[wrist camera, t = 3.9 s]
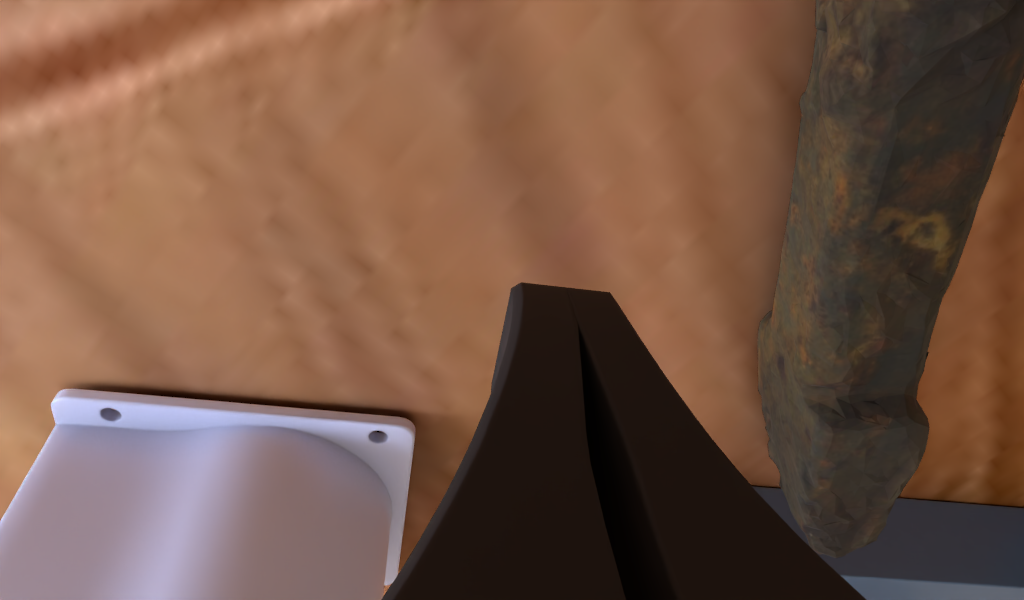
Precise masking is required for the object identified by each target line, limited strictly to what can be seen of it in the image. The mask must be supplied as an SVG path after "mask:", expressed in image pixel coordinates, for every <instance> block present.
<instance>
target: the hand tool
mask: <svg viewBox="0 0 1024 600" xmlns="http://www.w3.org/2000/svg"><path fill="white" fill-rule="evenodd" d="M815 26H816V29H817V33H816V40H815V46H814V54H813V64H812V68H811V72H810V76H809V81H808V85H807V89H806V90H805V92H804V93H803V95H802V96H801V99H800V102H799V105H800V109H801V113H802V117H801V122H800V130H799V139H798V147H797V156H796V164H795V169H794V174H793V182H792V191H791V197H790V204H789V211H788V217H787V224H786V230H785V235H784V241H783V246H782V254H781V261H780V270H779V275H778V280H777V285H776V290H775V296H774V304H773V310H772V311H770V312H769V313H768V314H767V315H766V316H765V317H764V318H763V319H762V320H761V321H760V325H759V329H758V391H759V393H760V395H761V398H762V412H763V415H764V419H765V422H766V427H765V428H766V430H767V433H768V436H769V442H768V451H769V457H770V458H771V459H772V460H773V461H774V463H775V464H776V465H777V468H778V470H779V472H780V475H781V476H780V483H779V486H780V487H781V489H782V490H783V492H784V495H785V497H786V500H787V501H788V505H789V507H790V510H791V513H792V515H793V517H794V518H795V520H796V522H797V523H798V525H799V526H800V528H801V529H802V531H803V532H804V533H805V535H806V537H807V540H808V543H809V545H810V547H811V548H812V549H813V550H814V551H815V552H817V553H818V554H819V555H821V554H825V555H828V556H831V557H834V558H840V557H843V556H845V555H847V554H848V553H850V552H852V551H854V550H855V549H857V548H862V547H864V546H866V545H868V544H870V543H872V542H874V541H876V540H877V537H878V535H879V534H880V533H881V531H882V530H883V529H884V527H885V526H886V523H887V518H888V515H889V514H890V511H891V509H892V507H893V505H894V502H895V500H896V499H897V497H898V496H899V495H900V494H901V492H902V490H903V488H904V487H905V486H906V484H907V483H908V481H909V480H910V479H911V477H912V476H913V474H914V473H915V471H916V470H917V468H918V466H919V464H920V462H921V459H922V457H923V454H924V452H925V449H926V445H927V440H928V434H929V423H928V418H927V416H926V415H925V413H924V412H923V410H922V408H921V407H920V405H919V403H918V402H917V400H916V396H917V389H918V383H919V381H920V378H921V376H922V374H923V371H924V367H925V362H926V358H927V356H928V353H929V352H927V351H928V347H929V343H930V339H931V335H932V332H933V328H934V325H935V322H936V318H937V315H938V311H939V307H940V304H941V301H942V298H943V296H944V294H945V292H946V290H947V289H948V287H949V285H950V283H951V280H952V278H953V276H954V273H955V271H956V268H957V266H958V263H959V260H960V257H961V255H962V252H963V249H964V246H965V243H966V241H967V238H968V235H969V232H970V229H971V227H972V223H973V220H974V217H975V214H976V210H977V207H978V204H979V201H980V198H981V196H982V194H983V191H984V189H985V187H986V184H987V182H988V179H989V177H990V174H991V171H992V168H993V165H994V162H995V159H996V156H997V153H998V151H999V148H1000V145H1001V142H1002V139H1003V136H1004V133H1005V130H1006V127H1007V124H1008V122H1009V119H1010V117H1011V114H1012V112H1013V109H1014V107H1015V104H1016V102H1017V98H1018V92H1019V88H1020V85H1021V83H1022V80H1023V78H1024V0H816V17H815Z"/></svg>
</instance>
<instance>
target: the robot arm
mask: <svg viewBox="0 0 1024 600" xmlns="http://www.w3.org/2000/svg"><path fill="white" fill-rule="evenodd" d="M111 408H112V409H111ZM51 409H52V413H53V416H54V419H55V422H56V426H55V427H54V429H53V431H52V432H51V434H50V436H49V438H48V439H47V441H46V443H45V445H44V446H43V448H42V450H41V451H40V453H39V455H38V457H37V458H36V460H35V462H34V464H33V465H32V467H31V469H30V471H29V472H28V474H27V476H26V478H25V479H24V481H23V483H22V484H21V486H20V488H19V490H18V491H17V493H16V495H15V497H14V498H13V500H12V502H11V504H10V505H9V507H8V509H7V511H6V512H5V514H4V516H3V517H2V519H1V521H0V600H866V599H865V598H864V597H863V596H862V595H861V594H860V593H859V592H858V591H857V590H856V589H854V588H853V587H852V586H851V585H850V584H849V583H848V582H847V581H846V580H845V579H844V578H843V577H841V576H840V575H839V574H838V573H837V572H836V571H835V570H834V569H833V568H832V567H831V566H829V565H828V564H827V563H826V562H825V561H824V560H823V559H822V558H821V557H820V556H819V555H818V554H817V553H816V552H815V551H814V550H813V549H812V548H811V547H810V546H809V545H808V544H806V543H805V542H804V541H803V540H802V539H801V538H800V537H799V536H798V535H797V534H796V533H795V532H794V531H793V530H792V528H791V527H790V526H789V525H788V524H787V523H786V522H785V521H784V520H783V519H782V518H781V517H780V516H779V515H778V514H777V513H776V512H775V511H774V509H773V508H772V507H771V506H770V505H769V504H768V503H767V502H766V501H765V500H764V499H763V498H762V497H761V496H760V495H759V494H758V493H757V491H756V490H755V489H754V488H753V487H752V486H751V485H750V484H749V483H748V481H747V480H746V479H745V478H744V477H743V476H742V475H741V473H740V472H739V471H738V470H737V469H736V468H735V466H734V465H733V464H732V463H731V462H730V460H729V459H728V458H727V457H726V455H725V454H724V453H723V452H722V451H721V449H720V448H719V447H718V446H717V444H716V443H715V442H714V441H713V440H712V438H711V437H710V436H709V435H708V433H707V432H706V431H705V429H704V428H703V427H702V425H701V424H700V423H699V421H698V420H697V419H696V418H695V416H694V415H693V413H692V412H691V411H690V409H689V408H688V407H687V405H686V404H685V402H684V401H683V400H682V398H681V397H680V396H679V394H678V393H677V391H676V390H675V389H674V387H673V386H672V384H671V383H670V382H669V380H668V379H667V377H666V376H665V375H664V373H663V372H662V370H661V369H660V367H659V366H658V364H657V363H656V361H655V360H654V358H653V357H652V355H651V354H650V352H649V351H648V349H647V348H646V346H645V345H644V343H643V342H642V340H641V339H640V337H639V336H638V334H637V333H636V331H635V330H634V328H633V327H632V325H631V323H630V322H629V320H628V319H627V317H626V316H625V314H624V313H623V311H622V310H621V308H620V306H619V305H618V303H617V302H616V300H615V299H614V298H613V296H612V295H611V293H610V292H601V291H592V290H583V289H574V288H566V287H557V286H548V285H539V284H530V283H520V284H518V285H516V286H515V287H513V288H511V292H510V297H509V302H508V307H507V312H506V317H505V322H504V326H503V331H502V336H501V341H500V346H499V351H498V356H497V360H496V365H495V370H494V375H493V380H492V387H491V395H490V398H489V400H488V403H487V405H486V408H485V410H484V412H483V415H482V417H481V420H480V422H479V424H478V427H477V429H476V432H475V434H474V436H473V439H472V441H471V443H470V445H469V447H468V450H467V452H466V454H465V456H464V458H463V460H462V462H461V464H460V466H459V468H458V470H457V472H456V474H455V476H454V478H453V480H452V482H451V484H450V486H449V488H448V490H447V492H446V494H445V495H444V497H443V499H442V501H441V503H440V505H439V506H438V508H437V510H436V512H435V513H434V515H433V517H432V519H431V520H430V522H429V524H428V526H427V527H426V529H425V531H424V533H423V534H422V536H421V538H420V540H419V541H418V543H417V545H416V547H415V548H414V550H413V551H412V553H411V555H410V556H409V558H408V560H407V561H406V563H405V565H404V566H403V568H402V569H401V571H400V573H399V574H398V569H399V561H400V553H401V545H402V537H403V529H404V521H405V513H406V505H407V497H408V489H409V481H410V473H411V465H412V457H413V449H414V441H415V431H416V430H415V426H414V424H413V423H412V422H411V421H409V420H408V419H406V418H402V417H396V416H384V415H373V414H361V413H350V412H338V411H327V410H315V409H304V408H292V407H281V406H269V405H258V404H246V403H235V402H223V401H212V400H200V399H189V398H177V397H166V396H154V395H143V394H131V393H120V392H108V391H97V390H85V389H64V390H61V391H59V392H58V394H57V395H56V396H55V398H54V400H53V401H52V403H51ZM113 409H115V410H113ZM375 431H382V432H381V433H379V432H375ZM389 584H392V585H391V586H390V588H389V589H388V591H387V592H386V594H385V595H384V597H383V593H384V585H389Z"/></svg>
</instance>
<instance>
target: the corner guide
mask: <svg viewBox="0 0 1024 600" xmlns="http://www.w3.org/2000/svg"><path fill="white" fill-rule="evenodd" d="M752 487H753V488H754V489H755V490H756V491H757V493H758V494H759V495H760V496H761V497H762V498H763V499H764V500H765V501H766V502H767V503H768V504H769V505H770V506H771V507H772V508H773V509H774V511H775V512H776V513H777V514H778V515H779V516H780V517H781V518H782V519H783V520H784V521H785V522H786V523H787V524H788V525H789V526H790V527H791V528H792V530H793V531H794V532H795V533H796V534H797V535H798V536H799V537H800V538H801V539H802V540H803V541H804V542H805V543H806V544H808V545H809V543H808V540H807V537H806V535H805V533H804V532H803V531H802V529H801V528H800V526H799V525H798V523H797V522H796V520H795V518H794V517H793V515H792V513H791V510H790V507H789V505H788V501H787V500H786V497H785V495H784V492H783V490H782V489H779V488H766V487H754V486H752ZM809 546H810V545H809ZM816 553H817V552H816ZM817 554H818V553H817ZM818 555H819V554H818ZM819 556H820V557H821V558H822V559H823V560H824V561H825V562H826V563H827V564H828V565H829V566H831V567H832V568H833V569H834V570H835V571H836V572H837V573H838V574H839V575H840V576H841V577H843V578H844V579H845V580H846V581H847V582H848V583H849V584H850V585H851V586H852V587H853V588H854V589H856V590H857V591H858V592H859V593H860V594H861V595H862V596H863V597H864V598H865V599H866V600H1024V508H1016V507H1003V506H991V505H978V504H966V503H953V502H941V501H928V500H916V499H903V498H897V499H896V500H895V502H894V505H893V507H892V509H891V511H890V514H889V515H888V518H887V523H886V526H885V527H884V529H883V530H882V531H881V533H880V534H879V535H878V537H877V540H876V541H874V542H872V543H870V544H868V545H866V546H864V547H862V548H857V549H855V550H854V551H852V552H850V553H848V554H847V555H845V556H843V557H840V558H834V557H831V556H828V555H825V554H821V555H819Z"/></svg>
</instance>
